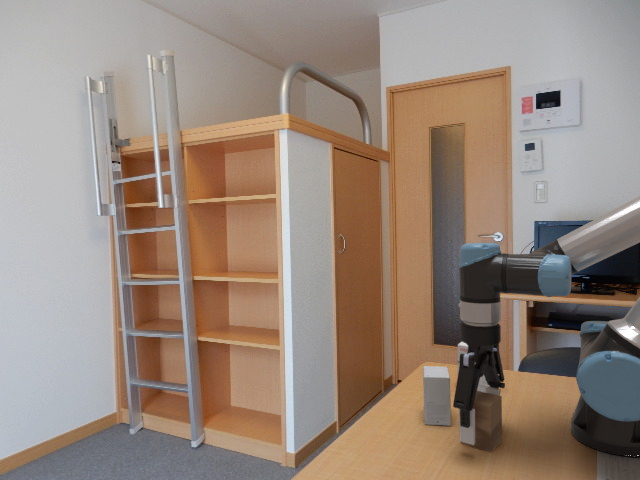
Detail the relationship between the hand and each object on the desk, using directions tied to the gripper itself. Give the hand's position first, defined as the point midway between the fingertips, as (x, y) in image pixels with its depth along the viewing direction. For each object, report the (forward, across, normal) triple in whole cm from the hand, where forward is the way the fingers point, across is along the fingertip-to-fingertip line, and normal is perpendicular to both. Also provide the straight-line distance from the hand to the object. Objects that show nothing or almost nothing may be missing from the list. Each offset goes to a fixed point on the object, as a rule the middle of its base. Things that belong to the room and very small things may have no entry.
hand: (480, 430), depth 93 cm
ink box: (+3, -27, -12) cm, 30 cm away
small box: (+3, -5, -12) cm, 13 cm away
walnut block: (+2, 0, 0) cm, 2 cm away
